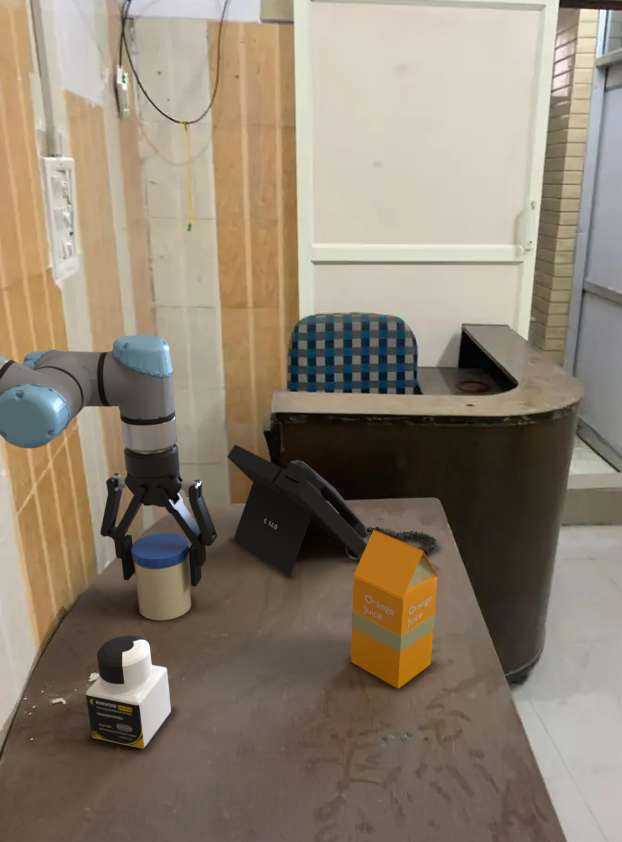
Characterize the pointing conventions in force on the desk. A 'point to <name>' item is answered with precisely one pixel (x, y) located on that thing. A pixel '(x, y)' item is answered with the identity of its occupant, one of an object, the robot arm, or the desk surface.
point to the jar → (163, 590)
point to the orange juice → (393, 610)
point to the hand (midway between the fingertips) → (162, 578)
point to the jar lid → (160, 550)
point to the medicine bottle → (127, 693)
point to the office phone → (297, 512)
